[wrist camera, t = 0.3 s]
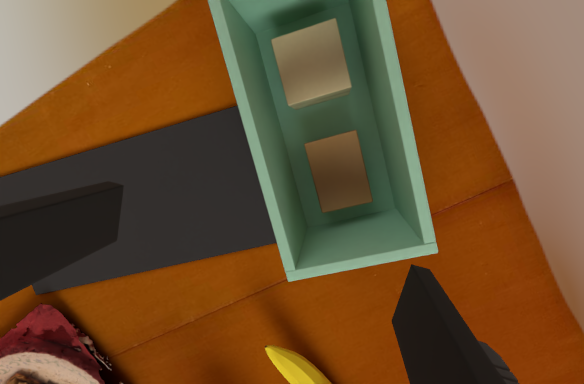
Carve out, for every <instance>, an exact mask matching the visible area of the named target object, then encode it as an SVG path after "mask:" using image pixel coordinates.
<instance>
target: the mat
mask: <svg viewBox="0 0 584 384" xmlns="http://www.w3.org/2000/svg"><path fill="white" fill-rule="evenodd" d="M106 181H110V182H114V183H117V184H121V185H124V188H123V196H122V204H121V213H120V221H119V229H118V237H117V241H116V242H114V243H112V244H110V245H108V246H106V247H104V248H102V249H100V250H98V251H96V252H94V253H92V254H90V255H88V256H86V257H84V258H83V259H81V260H79V261H77V262H75V263H73V264H71V265H69V266H67V267H65V268H63V269H61V270H59V271H57V272H55V273H53V274H51V275H49V276H47V277H45V278H43V279H41V280H40V281H38V282H36V283H34V284H32V286H33V289H34V291H35V293H36V295H38V294H43V293H48V292H52V291H57V290H61V289H66V288H71V287H75V286H80V285H84V284H89V283H94V282H98V281H103V280H107V279H112V278H117V277H121V276H126V275H130V274H135V273H140V272H144V271H149V270H154V269H158V268H163V267H167V266H172V265H177V264H181V263H186V262H190V261H195V260H200V259H204V258H209V257H213V256H218V255H223V254H227V253H232V252H236V251H241V250H246V249H250V248H255V247H260V246H264V245H269V244H273V243H277V241H276V238H275V234H274V231H273V227H272V224H271V220H270V217H269V213H268V210H267V206H266V203H265V199H264V196H263V192H262V189H261V185H260V182H259V178H258V175H257V171H256V168H255V164H254V161H253V157H252V154H251V150H250V147H249V143H248V140H247V136H246V133H245V129H244V126H243V122H242V119H241V115H240V112H239V108H238V106H235V107H231V108H228V109H225V110H221V111H218V112H215V113H212V114H208V115H205V116H202V117H198V118H195V119H192V120H188V121H185V122H182V123H178V124H175V125H172V126H169V127H165V128H162V129H159V130H155V131H152V132H149V133H145V134H142V135H139V136H135V137H132V138H129V139H125V140H122V141H119V142H116V143H112V144H109V145H106V146H102V147H99V148H96V149H92V150H89V151H86V152H82V153H79V154H76V155H73V156H69V157H66V158H63V159H59V160H56V161H53V162H49V163H46V164H43V165H39V166H36V167H33V168H29V169H26V170H23V171H20V172H16V173H13V174H10V175H6V176H3V177H0V206H1V205H6V204H10V203H14V202H19V201H23V200H28V199H32V198H36V197H41V196H45V195H49V194H54V193H58V192H63V191H67V190H71V189H76V188H80V187H84V186H89V185H93V184H97V183H102V182H106Z"/></svg>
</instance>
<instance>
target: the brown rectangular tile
mask: <svg viewBox="0 0 584 384" xmlns="http://www.w3.org/2000/svg"><path fill="white" fill-rule="evenodd" d="M304 146H305V150H306V154H307V158H308V162H309V166H310V169H311V173H312V177H313V181H314V185H315V189H316V192H317V196H318V200H319V204H320V208H321V212H322V213H326V212H331V211H335V210H340V209H344V208H348V207H353V206H357V205H362V204H366V203H370V202H373V198H372V193H371V189H370V185H369V180H368V176H367V172H366V168H365V163H364V159H363V155H362V150H361V146H360V142H359V138H358V133H357V130H352V131H348V132H344V133H341V134H337V135H333V136H329V137H326V138H322V139H318V140H315V141H311V142H307V143H305V144H304Z"/></svg>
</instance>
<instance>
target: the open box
mask: <svg viewBox="0 0 584 384" xmlns="http://www.w3.org/2000/svg"><path fill="white" fill-rule="evenodd" d="M208 3H209V6H210V10H211V13H212V17H213V20H214V24H215V27H216V31H217V34H218V38H219V41H220V45H221V48H222V52H223V55H224V59H225V62H226V66H227V69H228V73H229V76H230V80H231V83H232V87H233V90H234V94H235V98H236V101H237V105H238V108H239V112H240V115H241V119H242V122H243V126H244V129H245V133H246V136H247V140H248V143H249V147H250V150H251V154H252V157H253V161H254V164H255V168H256V171H257V175H258V178H259V182H260V185H261V189H262V192H263V196H264V199H265V203H266V206H267V210H268V213H269V217H270V220H271V224H272V227H273V231H274V234H275V238H276V241H277V245H278V248H279V252H280V255H281V259H282V262H283V266H284V269H285V272H286V276H287V280H288V282H289V281H294V280H300V279H305V278H310V277H315V276H320V275H325V274H331V273H336V272H341V271H346V270H351V269H356V268H362V267H367V266H372V265H377V264H382V263H387V262H393V261H398V260H403V259H408V258H413V257H419V256H424V255H429V254H434V253H438V248H437V243H436V242H435V241H436V239H435V234H434V229H433V224H432V219H431V215H430V210H429V205H428V200H427V195H426V191H425V186H424V181H423V176H422V171H421V166H420V162H419V157H418V152H417V147H416V142H415V137H414V133H413V128H412V123H411V118H410V113H409V109H408V104H407V99H406V94H405V89H404V84H403V80H402V75H401V70H400V65H399V60H398V55H397V51H396V46H395V41H394V36H393V31H392V27H391V22H390V17H389V12H388V7H387V2H386V0H208ZM333 18H336V19H337V24H338V28H339V32H340V37H341V41H342V45H343V50H344V54H345V58H346V63H347V67H348V71H349V76H350V80H351V84H352V87H351V90H350V93H349V95H346V96H342V97H339V98H335V99H332V100H329V101H325V102H322V103H318V104H315V105H311V106H308V107H304V108H301V109H297V110H295V109H294V108H292V107H290V106H288V104H287V100H286V97H285V93H284V89H283V85H282V81H281V78H280V74H279V70H278V66H277V62H276V58H275V55H274V51H273V47H272V43H271V39H273V38H276V37H279V36H282V35H285V34H288V33H291V32H294V31H297V30H300V29H303V28H306V27H309V26H312V25H315V24H318V23H321V22H324V21H327V20H330V19H333ZM352 130H357V133H358V138H359V142H360V146H361V150H362V155H363V159H364V163H365V168H366V172H367V176H368V180H369V185H370V189H371V193H372V198H373V202H370V203H366V204H362V205H357V206H353V207H348V208H344V209H340V210H335V211H331V212H326V213H322V212H321V208H320V204H319V200H318V196H317V192H316V189H315V185H314V181H313V177H312V173H311V169H310V166H309V162H308V158H307V154H306V150H305V146H304V144H305V143H307V142H311V141H315V140H318V139H322V138H326V137H329V136H333V135H337V134H341V133H344V132H348V131H352Z"/></svg>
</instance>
